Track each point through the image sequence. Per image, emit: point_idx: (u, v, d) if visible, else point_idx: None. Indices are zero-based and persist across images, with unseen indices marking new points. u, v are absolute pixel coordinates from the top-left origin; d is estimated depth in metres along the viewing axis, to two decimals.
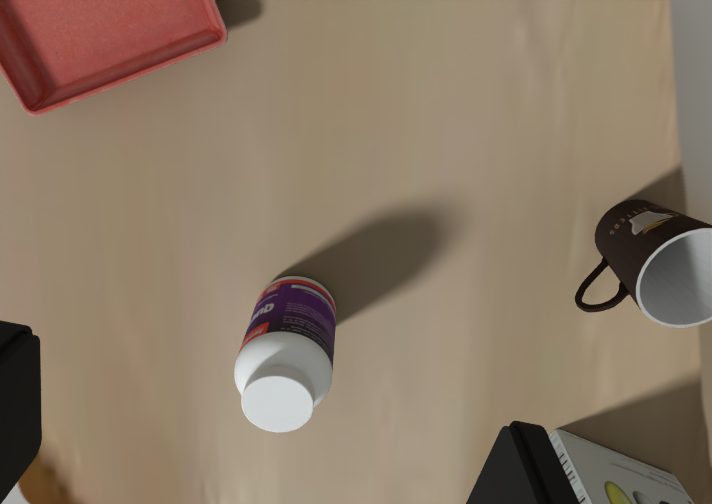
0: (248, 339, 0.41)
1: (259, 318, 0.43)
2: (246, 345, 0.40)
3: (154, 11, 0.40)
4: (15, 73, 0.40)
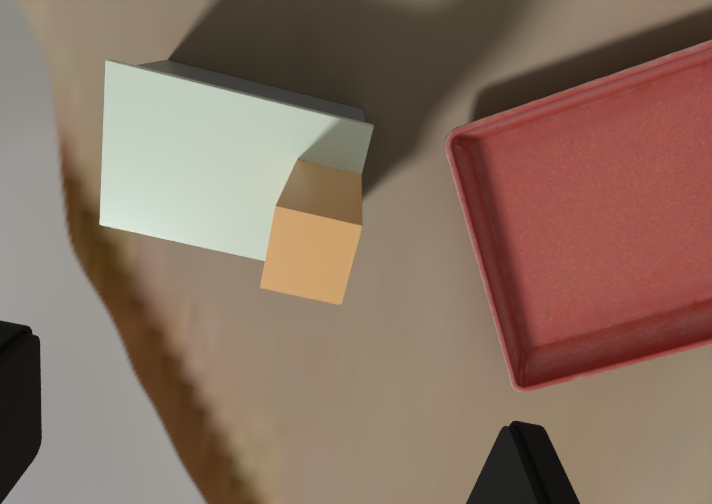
0: None
1: None
2: None
3: (689, 270, 0.32)
4: (508, 345, 0.32)
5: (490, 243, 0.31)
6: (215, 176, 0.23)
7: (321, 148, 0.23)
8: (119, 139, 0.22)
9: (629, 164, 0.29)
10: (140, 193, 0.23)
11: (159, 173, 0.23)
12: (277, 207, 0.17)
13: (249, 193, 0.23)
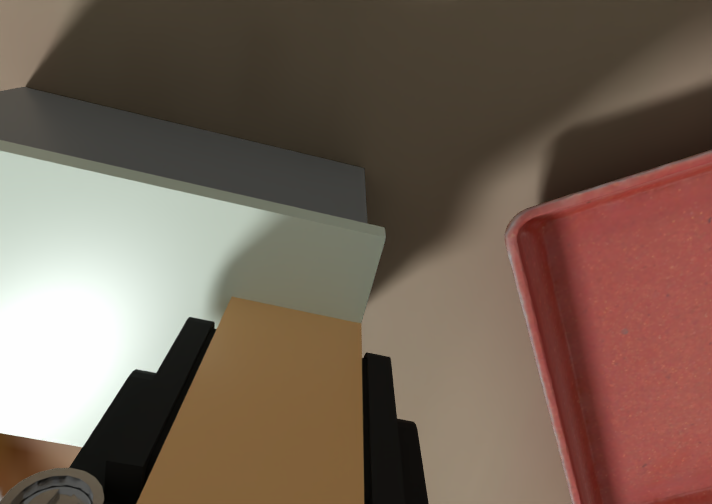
0: None
1: None
2: None
3: None
4: None
5: (565, 374, 0.19)
6: (71, 327, 0.12)
7: (279, 277, 0.11)
8: None
9: None
10: None
11: None
12: None
13: (141, 356, 0.12)
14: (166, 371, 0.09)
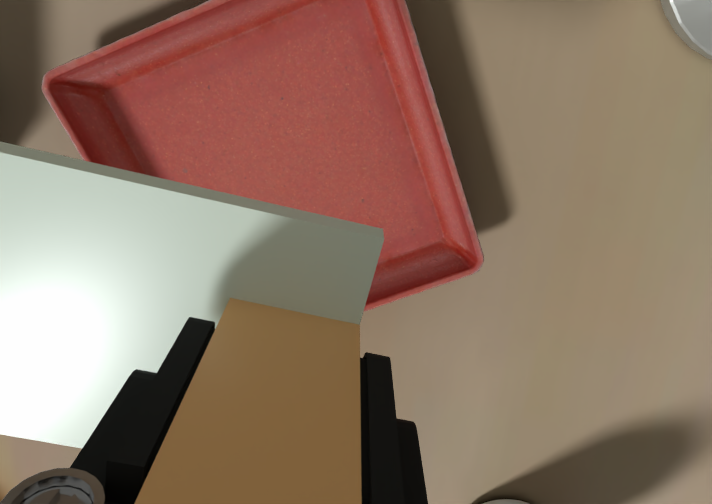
0: None
1: None
2: None
3: (373, 225, 0.30)
4: None
5: None
6: (69, 328, 0.12)
7: (278, 278, 0.11)
8: None
9: (277, 111, 0.27)
10: None
11: None
12: None
13: (140, 357, 0.12)
14: (167, 371, 0.09)
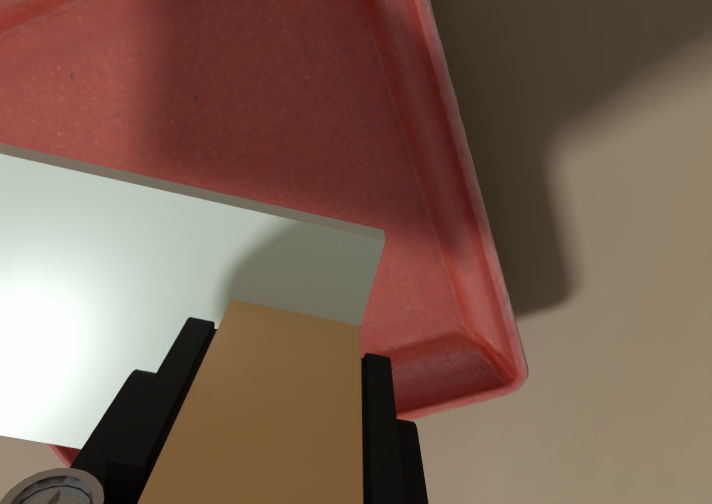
0: None
1: None
2: None
3: None
4: None
5: None
6: (70, 330, 0.12)
7: (279, 280, 0.11)
8: None
9: (190, 119, 0.16)
10: None
11: None
12: None
13: (141, 359, 0.12)
14: (166, 371, 0.09)
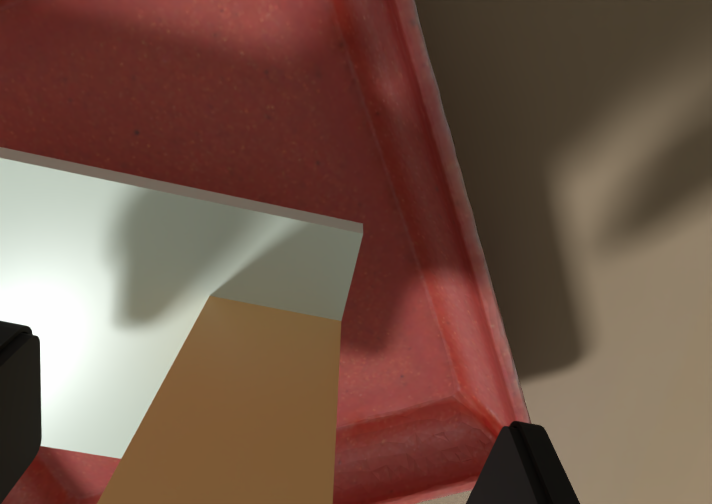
0: None
1: None
2: None
3: None
4: None
5: None
6: (49, 329, 0.12)
7: (257, 275, 0.11)
8: None
9: (129, 157, 0.13)
10: None
11: None
12: None
13: (121, 357, 0.12)
14: None
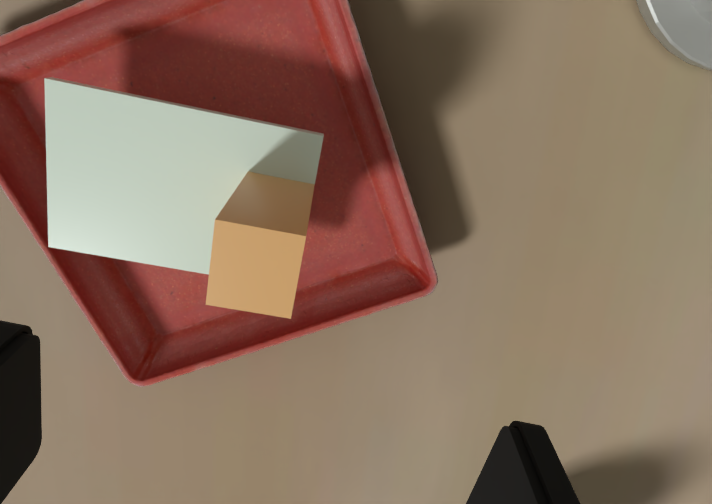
0: None
1: None
2: None
3: (319, 239, 0.27)
4: (115, 330, 0.27)
5: None
6: (165, 192, 0.23)
7: (272, 159, 0.22)
8: (63, 158, 0.22)
9: None
10: (88, 213, 0.23)
11: (107, 191, 0.23)
12: (217, 221, 0.16)
13: (201, 208, 0.23)
14: None
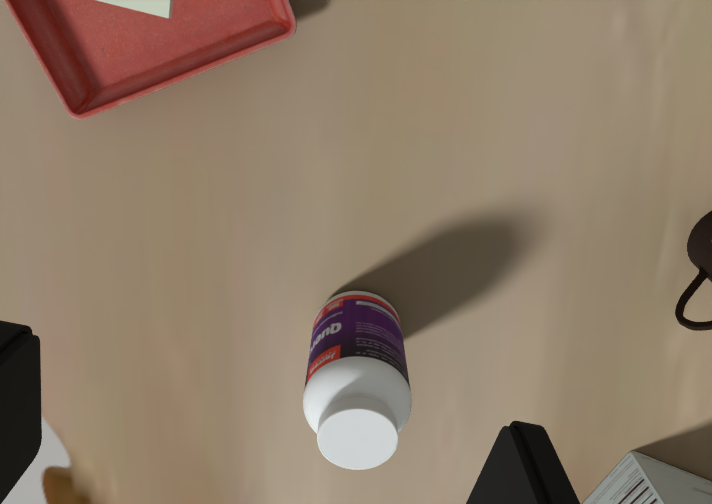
0: (318, 364, 0.37)
1: (326, 339, 0.39)
2: (317, 372, 0.36)
3: (212, 1, 0.36)
4: (58, 72, 0.36)
5: None
6: None
7: None
8: None
9: None
10: None
11: None
12: None
13: None
14: None
